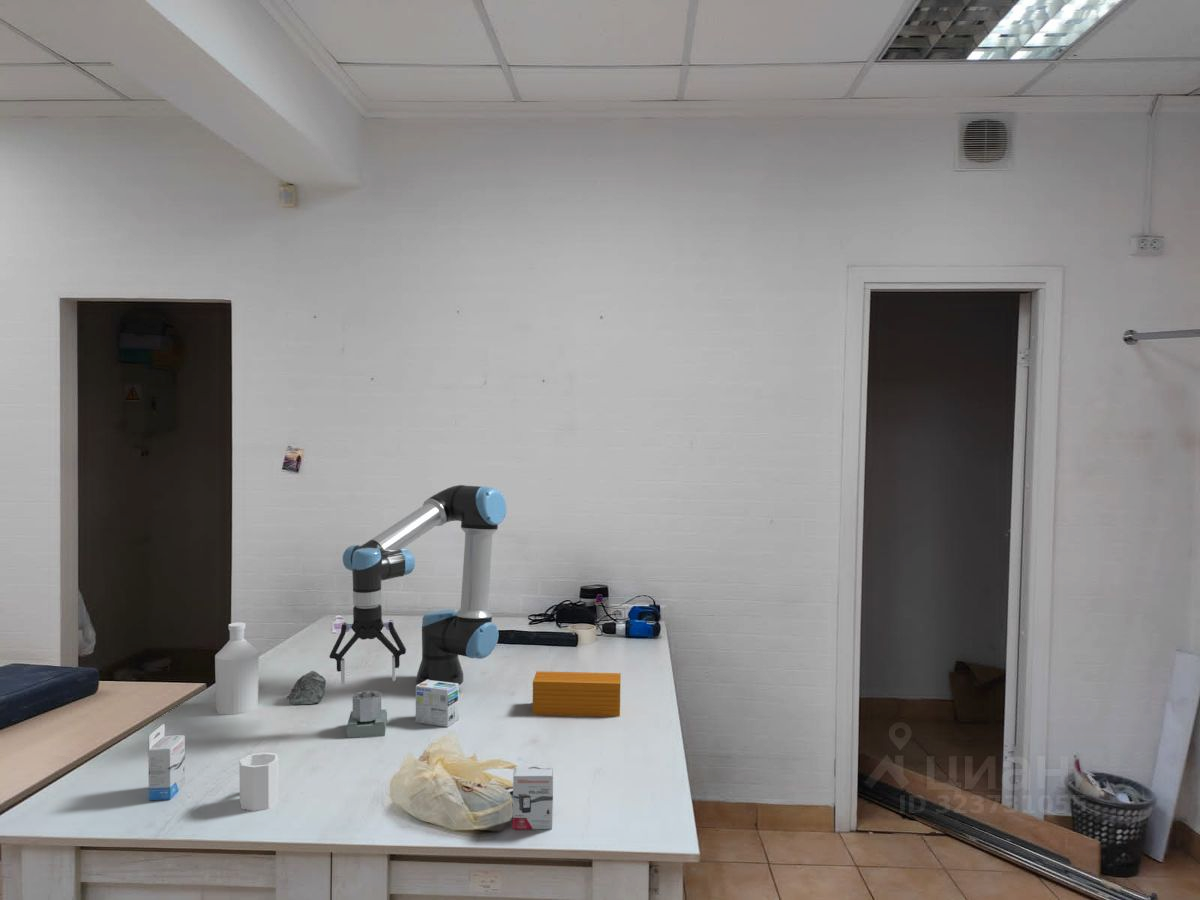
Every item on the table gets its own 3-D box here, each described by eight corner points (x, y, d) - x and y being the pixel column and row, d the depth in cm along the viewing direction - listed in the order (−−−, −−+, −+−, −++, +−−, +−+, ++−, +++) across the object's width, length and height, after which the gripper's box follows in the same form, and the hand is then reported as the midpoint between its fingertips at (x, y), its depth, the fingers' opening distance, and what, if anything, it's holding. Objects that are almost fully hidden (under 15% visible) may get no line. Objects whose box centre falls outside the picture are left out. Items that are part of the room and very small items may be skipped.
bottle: (236, 699, 257) (235, 618, 256) (267, 704, 253) (267, 621, 252) (206, 712, 246) (205, 627, 245) (238, 717, 242) (238, 631, 241)
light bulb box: (459, 719, 242) (459, 682, 242) (447, 727, 236) (448, 689, 235) (426, 714, 246) (427, 678, 245) (414, 722, 239) (414, 685, 239)
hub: (381, 711, 237) (381, 690, 237) (379, 720, 230) (380, 699, 230) (354, 712, 236) (354, 691, 236) (351, 722, 229) (351, 700, 228)
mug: (272, 811, 185) (272, 767, 185) (232, 811, 185) (232, 767, 185) (290, 787, 197) (290, 745, 197) (252, 787, 197) (252, 745, 197)
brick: (620, 705, 256) (620, 673, 256) (619, 717, 246) (620, 683, 246) (536, 703, 257) (536, 671, 257) (532, 715, 247) (532, 681, 247)
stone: (303, 673, 251) (320, 663, 260) (279, 692, 252) (297, 681, 262) (322, 699, 250) (339, 687, 260) (299, 718, 252) (316, 706, 261)
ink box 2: (511, 830, 178) (512, 775, 178) (513, 819, 183) (513, 765, 183) (552, 829, 179) (553, 774, 178) (552, 818, 184) (553, 765, 183)
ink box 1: (170, 800, 190) (170, 736, 189) (147, 801, 189) (147, 736, 189) (186, 784, 198) (185, 722, 198) (164, 784, 198) (163, 722, 197)
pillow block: (386, 722, 239) (387, 687, 239) (384, 735, 229) (384, 699, 229) (350, 724, 237) (350, 689, 237) (346, 738, 227) (346, 701, 227)
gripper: (414, 599, 238) (415, 673, 239) (321, 604, 233) (323, 679, 234) (413, 606, 231) (414, 682, 232) (318, 610, 226) (319, 688, 227)
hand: (368, 681), depth 233 cm, fingers open, 13 cm apart
